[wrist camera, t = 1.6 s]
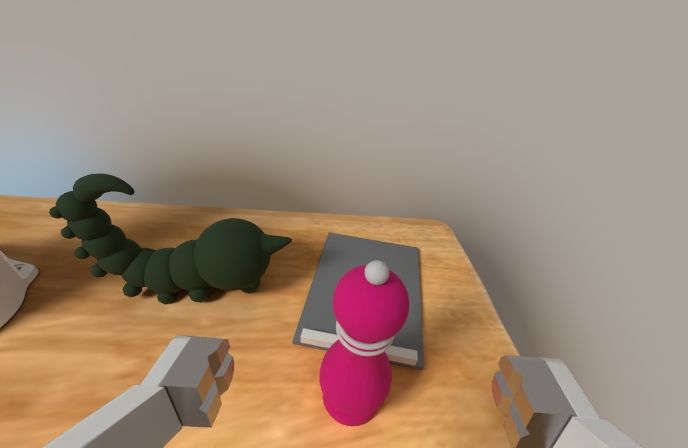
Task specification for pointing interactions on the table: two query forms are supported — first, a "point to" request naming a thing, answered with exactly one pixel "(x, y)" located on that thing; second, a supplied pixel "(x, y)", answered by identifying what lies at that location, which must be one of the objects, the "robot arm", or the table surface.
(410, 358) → the grey stop strip
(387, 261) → the grey rectangular board
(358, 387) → the magenta bowling pin
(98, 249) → the toy figurine
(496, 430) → the table surface
